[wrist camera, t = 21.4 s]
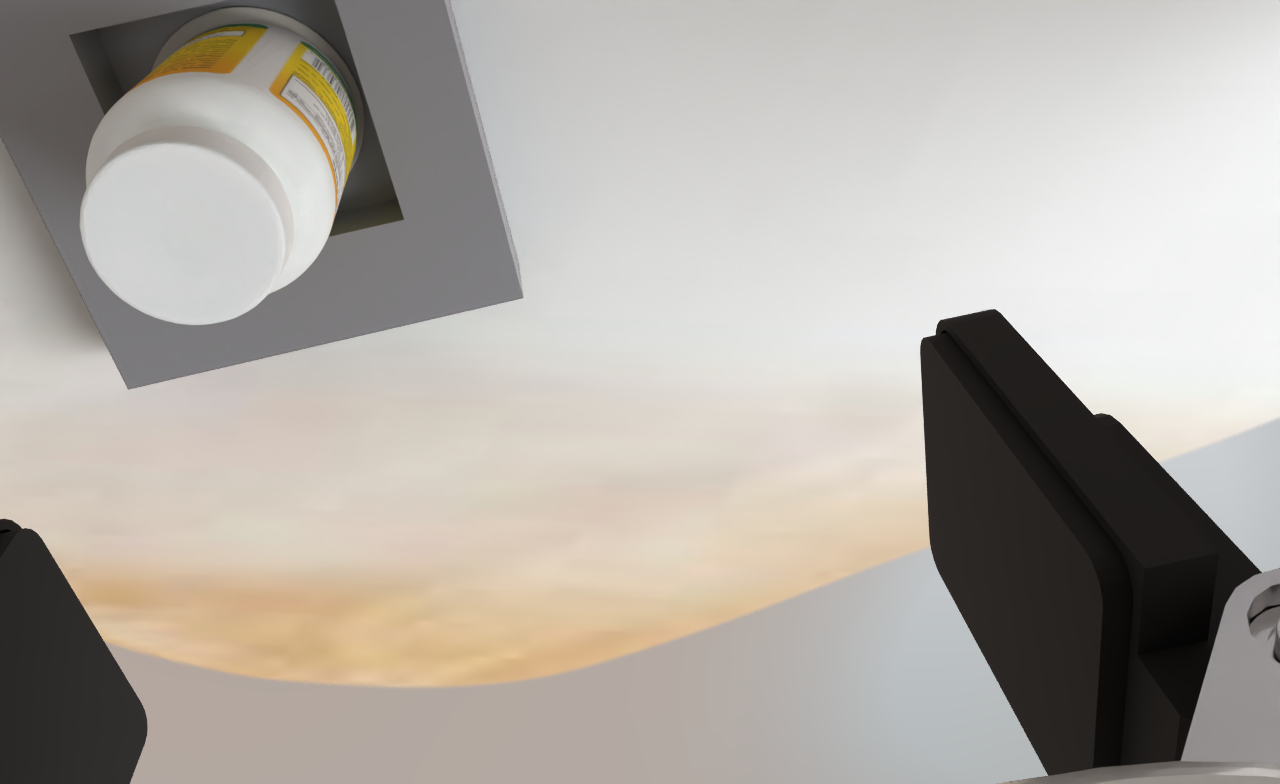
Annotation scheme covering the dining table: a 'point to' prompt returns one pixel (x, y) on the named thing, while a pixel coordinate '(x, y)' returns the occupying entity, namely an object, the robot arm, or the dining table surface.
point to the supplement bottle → (219, 174)
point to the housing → (371, 200)
